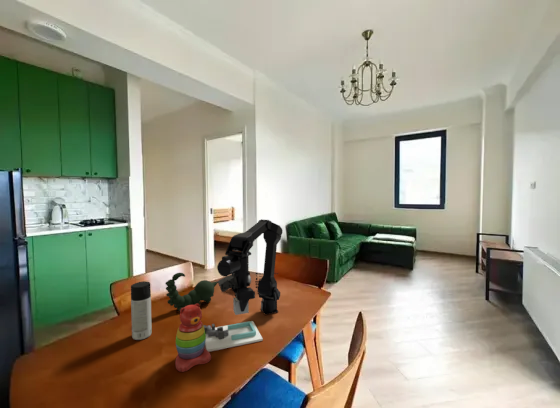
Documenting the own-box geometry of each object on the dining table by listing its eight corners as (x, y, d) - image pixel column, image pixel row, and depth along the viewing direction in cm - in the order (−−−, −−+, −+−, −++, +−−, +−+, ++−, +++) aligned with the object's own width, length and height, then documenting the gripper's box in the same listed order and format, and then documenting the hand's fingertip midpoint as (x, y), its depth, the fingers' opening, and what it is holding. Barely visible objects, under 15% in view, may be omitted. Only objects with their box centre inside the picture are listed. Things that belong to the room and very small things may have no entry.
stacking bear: (178, 374, 80) (177, 316, 79) (170, 357, 88) (169, 304, 87) (213, 360, 86) (212, 307, 85) (202, 345, 95) (201, 296, 94)
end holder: (250, 324, 108) (250, 321, 108) (256, 335, 100) (256, 331, 100) (227, 328, 105) (227, 325, 105) (231, 340, 97) (231, 336, 97)
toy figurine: (174, 321, 116) (224, 300, 132) (169, 279, 113) (221, 263, 130) (166, 313, 122) (215, 294, 139) (161, 274, 120) (211, 259, 137)
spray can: (155, 332, 103) (154, 282, 102) (141, 342, 97) (140, 288, 95) (142, 329, 105) (141, 280, 104) (127, 338, 99) (126, 285, 98)
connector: (246, 308, 105) (246, 295, 104) (248, 312, 101) (248, 299, 101) (233, 310, 103) (233, 297, 102) (235, 315, 99) (235, 301, 99)
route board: (252, 322, 111) (252, 315, 111) (262, 340, 98) (262, 332, 98) (203, 331, 104) (203, 323, 104) (206, 352, 91) (206, 343, 91)
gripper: (216, 264, 107) (216, 302, 108) (223, 279, 89) (223, 324, 90) (243, 261, 111) (243, 298, 112) (255, 275, 93) (255, 318, 94)
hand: (241, 308), depth 102 cm, fingers closed on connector, 4 cm apart
